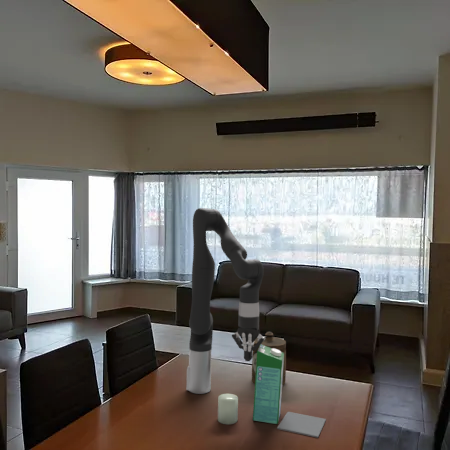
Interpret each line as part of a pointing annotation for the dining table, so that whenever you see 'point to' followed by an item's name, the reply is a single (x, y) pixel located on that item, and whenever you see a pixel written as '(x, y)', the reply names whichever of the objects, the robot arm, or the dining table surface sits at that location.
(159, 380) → the dining table surface
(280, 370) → the milk carton
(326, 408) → the dining table surface
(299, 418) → the display mat
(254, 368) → the wooden container
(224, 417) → the pale green rounded cylinder
